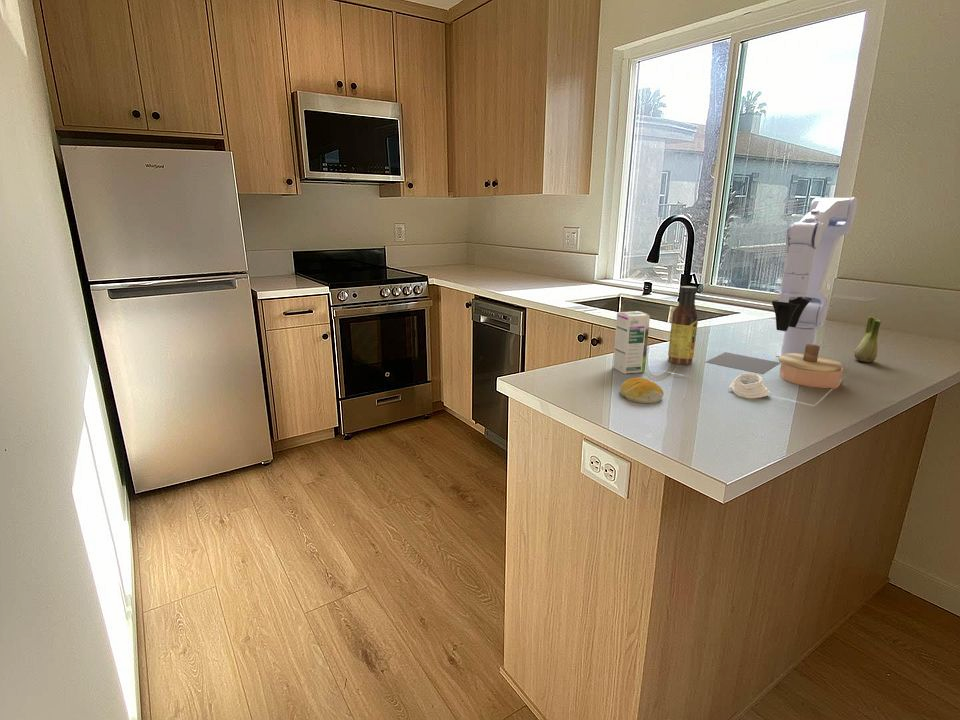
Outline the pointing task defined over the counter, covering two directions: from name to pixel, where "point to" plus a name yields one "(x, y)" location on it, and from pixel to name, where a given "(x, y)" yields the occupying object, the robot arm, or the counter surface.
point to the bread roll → (641, 390)
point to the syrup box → (631, 341)
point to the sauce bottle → (683, 328)
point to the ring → (811, 377)
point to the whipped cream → (749, 386)
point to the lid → (810, 360)
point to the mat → (743, 362)
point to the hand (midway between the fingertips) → (786, 328)
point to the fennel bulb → (868, 342)
